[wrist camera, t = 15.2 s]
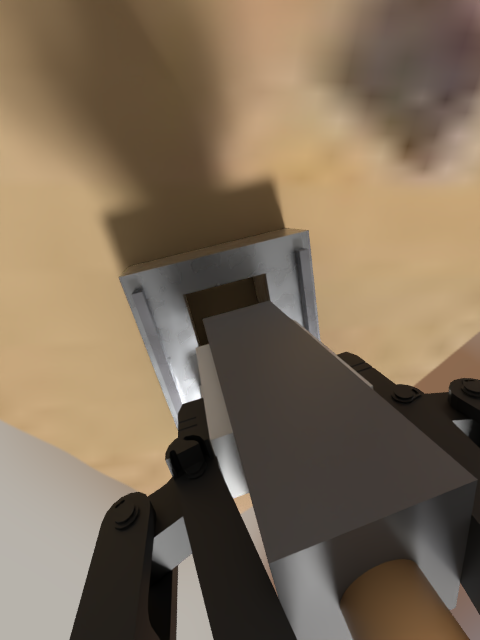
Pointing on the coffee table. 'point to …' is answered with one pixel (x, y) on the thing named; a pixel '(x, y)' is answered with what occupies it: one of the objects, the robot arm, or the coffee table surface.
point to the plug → (341, 487)
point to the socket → (206, 272)
